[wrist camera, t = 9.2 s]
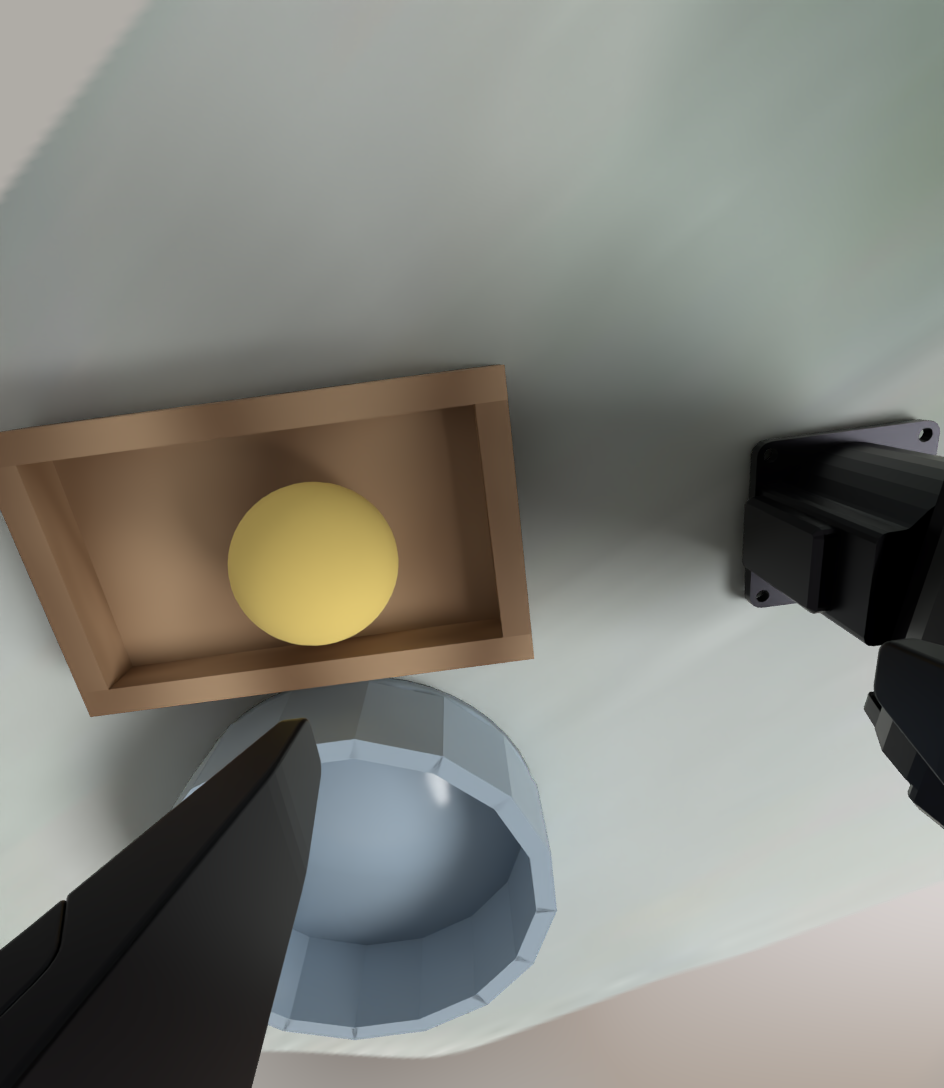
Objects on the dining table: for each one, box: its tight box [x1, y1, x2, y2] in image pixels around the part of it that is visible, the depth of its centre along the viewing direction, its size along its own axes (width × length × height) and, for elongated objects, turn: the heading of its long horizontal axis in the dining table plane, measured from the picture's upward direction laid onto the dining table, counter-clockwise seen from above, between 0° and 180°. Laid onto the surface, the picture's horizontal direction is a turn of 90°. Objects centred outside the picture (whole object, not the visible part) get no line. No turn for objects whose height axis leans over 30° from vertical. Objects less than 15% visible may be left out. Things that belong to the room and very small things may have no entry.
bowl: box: [171, 678, 557, 1040], centre depth 22 cm, size 16×16×4 cm
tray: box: [0, 364, 534, 717], centre depth 19 cm, size 16×10×2 cm, turn 97°
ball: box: [228, 482, 398, 646], centre depth 16 cm, size 5×5×5 cm
